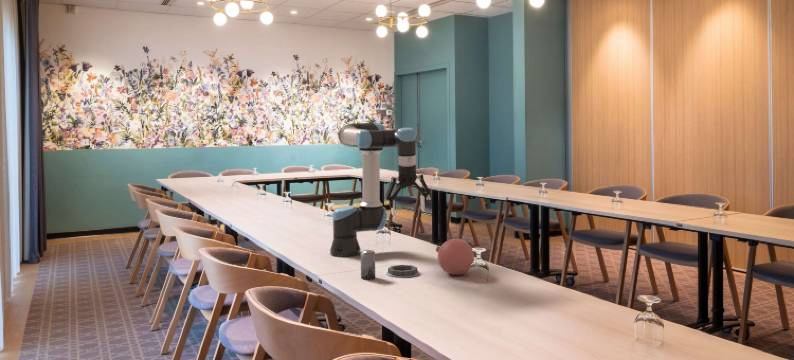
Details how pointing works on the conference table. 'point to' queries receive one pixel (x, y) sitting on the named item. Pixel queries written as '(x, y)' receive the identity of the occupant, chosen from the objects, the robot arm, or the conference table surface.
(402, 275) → the ring plate
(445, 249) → the terracotta rubber ball
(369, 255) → the cylinder
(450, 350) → the conference table surface
